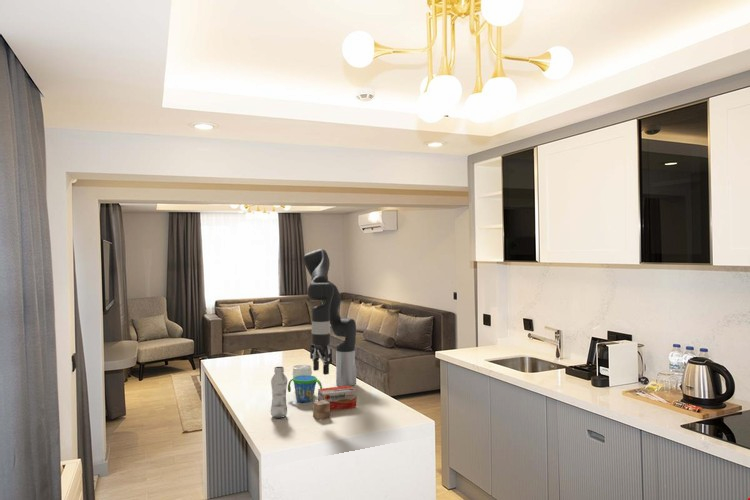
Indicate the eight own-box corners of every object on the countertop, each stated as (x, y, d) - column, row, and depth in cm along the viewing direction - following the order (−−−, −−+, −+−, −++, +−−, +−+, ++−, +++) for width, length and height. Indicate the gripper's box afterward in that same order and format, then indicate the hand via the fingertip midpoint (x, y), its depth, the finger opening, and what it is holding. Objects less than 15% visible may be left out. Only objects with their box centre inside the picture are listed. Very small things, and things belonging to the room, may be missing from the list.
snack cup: (325, 398, 232) (325, 376, 233) (316, 405, 222) (316, 381, 222) (294, 395, 237) (294, 373, 237) (283, 402, 227) (283, 379, 227)
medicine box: (323, 412, 213) (323, 393, 213) (317, 407, 220) (317, 388, 220) (357, 408, 219) (357, 389, 219) (350, 403, 226) (350, 385, 226)
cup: (308, 395, 238) (308, 369, 238) (289, 394, 240) (289, 368, 240) (314, 390, 247) (314, 365, 247) (296, 389, 249) (296, 364, 249)
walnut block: (323, 414, 210) (323, 400, 210) (329, 417, 206) (329, 402, 206) (313, 416, 207) (312, 402, 207) (318, 420, 203) (318, 405, 203)
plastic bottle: (271, 414, 210) (271, 365, 210) (288, 414, 210) (288, 365, 210) (269, 419, 203) (269, 369, 203) (286, 419, 204) (286, 369, 204)
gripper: (337, 333, 203) (337, 374, 203) (320, 329, 214) (320, 367, 214) (321, 335, 198) (321, 377, 198) (304, 330, 210) (304, 370, 210)
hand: (320, 372), depth 206 cm, fingers open, 8 cm apart
